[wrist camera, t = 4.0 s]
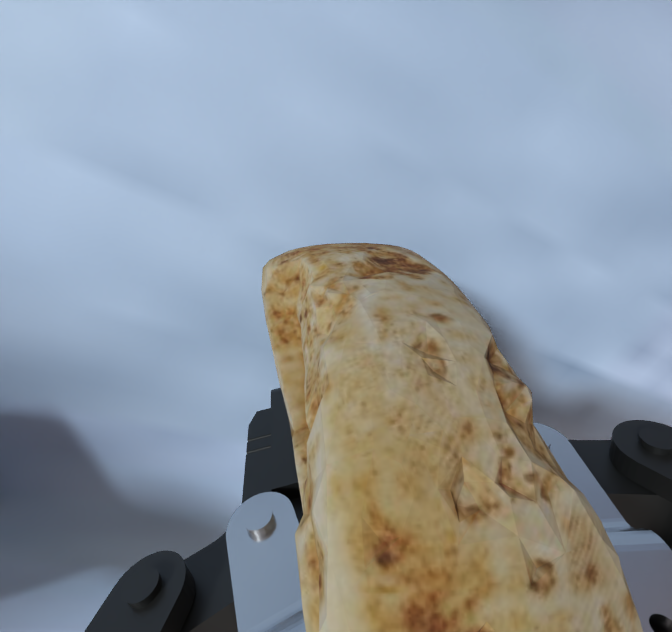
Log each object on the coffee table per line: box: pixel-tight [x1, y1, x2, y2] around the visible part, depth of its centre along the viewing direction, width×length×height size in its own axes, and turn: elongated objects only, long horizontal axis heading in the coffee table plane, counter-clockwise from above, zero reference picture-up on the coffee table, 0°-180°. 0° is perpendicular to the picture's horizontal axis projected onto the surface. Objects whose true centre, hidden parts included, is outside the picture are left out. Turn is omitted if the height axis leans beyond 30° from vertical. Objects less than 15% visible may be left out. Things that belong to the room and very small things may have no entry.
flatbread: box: [262, 243, 643, 632], centre depth 8 cm, size 10×4×10 cm, turn 7°
